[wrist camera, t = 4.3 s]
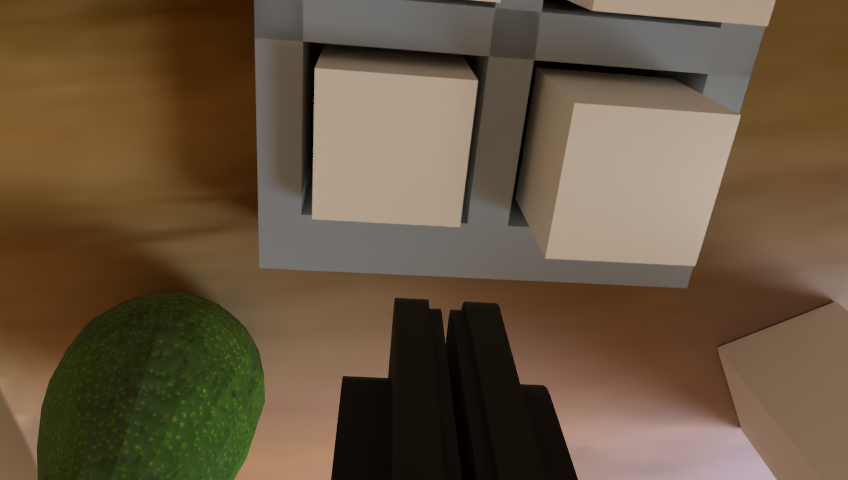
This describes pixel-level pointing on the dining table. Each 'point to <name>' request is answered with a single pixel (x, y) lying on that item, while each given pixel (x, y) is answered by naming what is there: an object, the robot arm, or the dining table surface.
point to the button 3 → (690, 9)
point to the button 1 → (391, 135)
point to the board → (491, 133)
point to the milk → (794, 393)
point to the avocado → (153, 395)
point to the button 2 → (490, 0)
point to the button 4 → (621, 166)
